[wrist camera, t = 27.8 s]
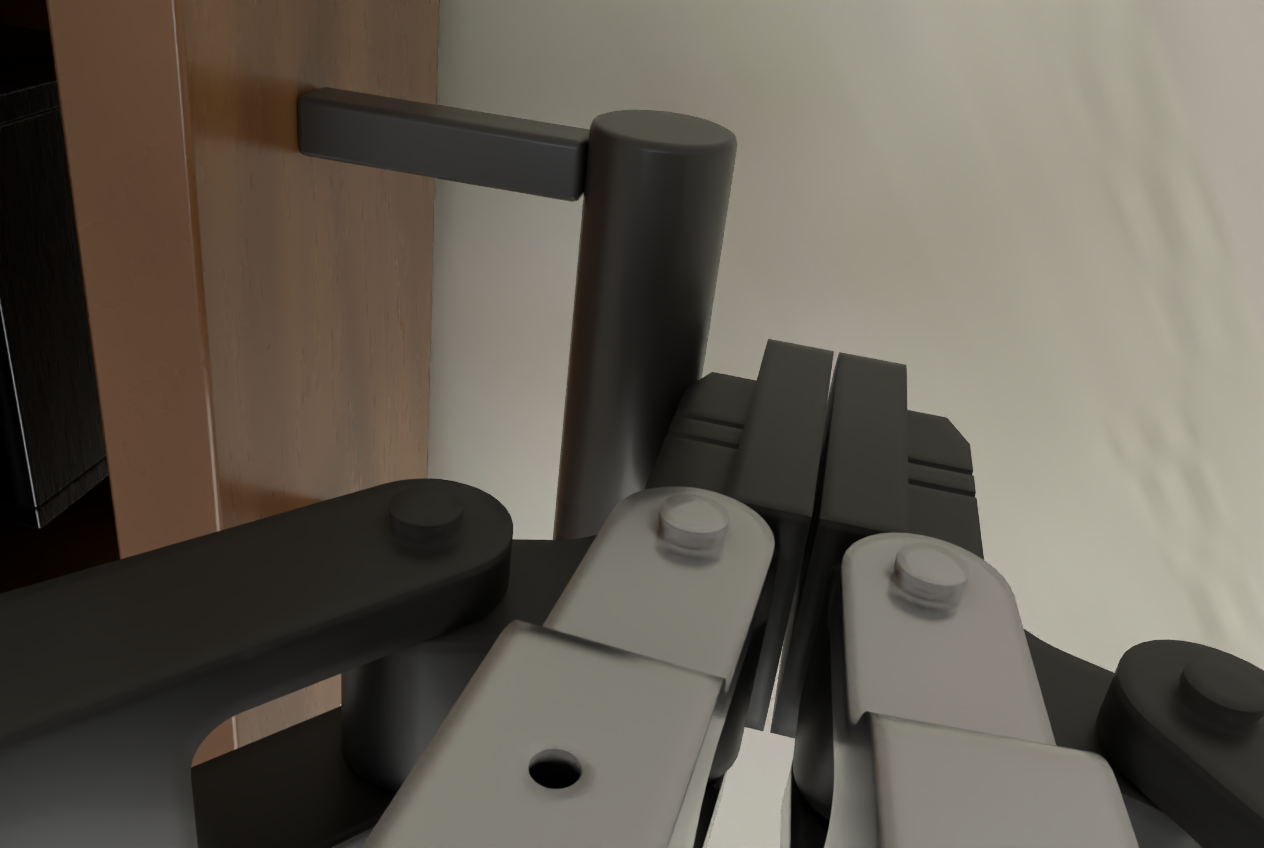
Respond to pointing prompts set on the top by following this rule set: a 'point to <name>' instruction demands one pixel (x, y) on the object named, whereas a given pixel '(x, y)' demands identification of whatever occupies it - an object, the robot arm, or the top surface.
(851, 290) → the top surface
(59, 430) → the tray
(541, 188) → the drawer
